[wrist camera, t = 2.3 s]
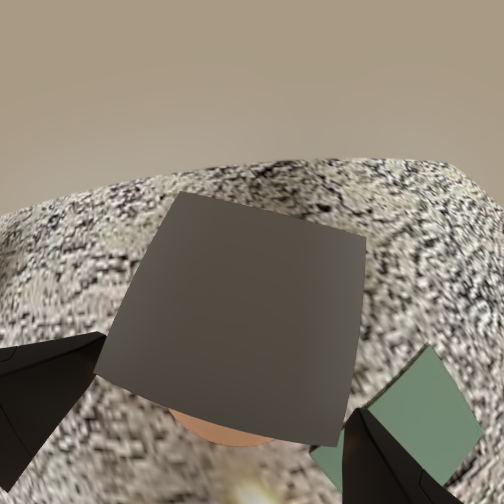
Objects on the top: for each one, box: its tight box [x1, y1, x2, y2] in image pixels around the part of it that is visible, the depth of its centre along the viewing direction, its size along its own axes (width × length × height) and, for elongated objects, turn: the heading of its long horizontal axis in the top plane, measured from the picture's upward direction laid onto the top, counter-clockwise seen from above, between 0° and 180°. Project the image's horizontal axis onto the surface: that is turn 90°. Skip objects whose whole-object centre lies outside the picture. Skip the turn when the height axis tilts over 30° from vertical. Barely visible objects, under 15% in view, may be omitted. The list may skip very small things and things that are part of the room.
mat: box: [309, 345, 483, 493], centre depth 14 cm, size 13×12×1 cm
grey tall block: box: [93, 191, 366, 448], centre depth 12 cm, size 6×6×11 cm
